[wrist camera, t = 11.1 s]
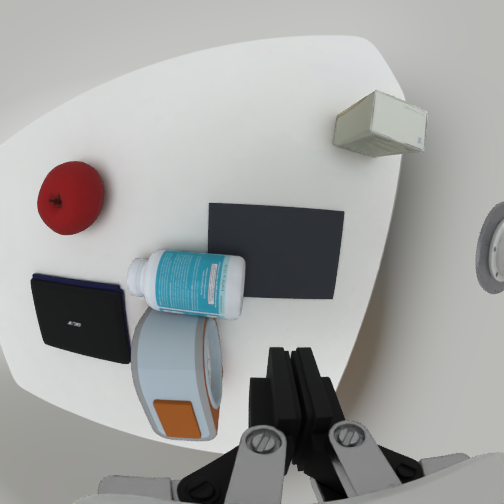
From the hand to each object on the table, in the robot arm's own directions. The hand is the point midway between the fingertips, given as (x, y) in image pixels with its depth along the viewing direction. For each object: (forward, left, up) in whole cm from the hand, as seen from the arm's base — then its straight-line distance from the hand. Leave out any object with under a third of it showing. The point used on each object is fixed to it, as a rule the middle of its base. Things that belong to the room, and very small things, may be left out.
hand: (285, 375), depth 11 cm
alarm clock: (+9, +15, -25) cm, 31 cm away
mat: (-2, +1, -25) cm, 25 cm away
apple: (+24, -6, -25) cm, 35 cm away
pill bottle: (+1, +5, -21) cm, 22 cm away
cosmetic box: (-12, -15, -25) cm, 32 cm away
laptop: (+28, +13, -25) cm, 40 cm away
